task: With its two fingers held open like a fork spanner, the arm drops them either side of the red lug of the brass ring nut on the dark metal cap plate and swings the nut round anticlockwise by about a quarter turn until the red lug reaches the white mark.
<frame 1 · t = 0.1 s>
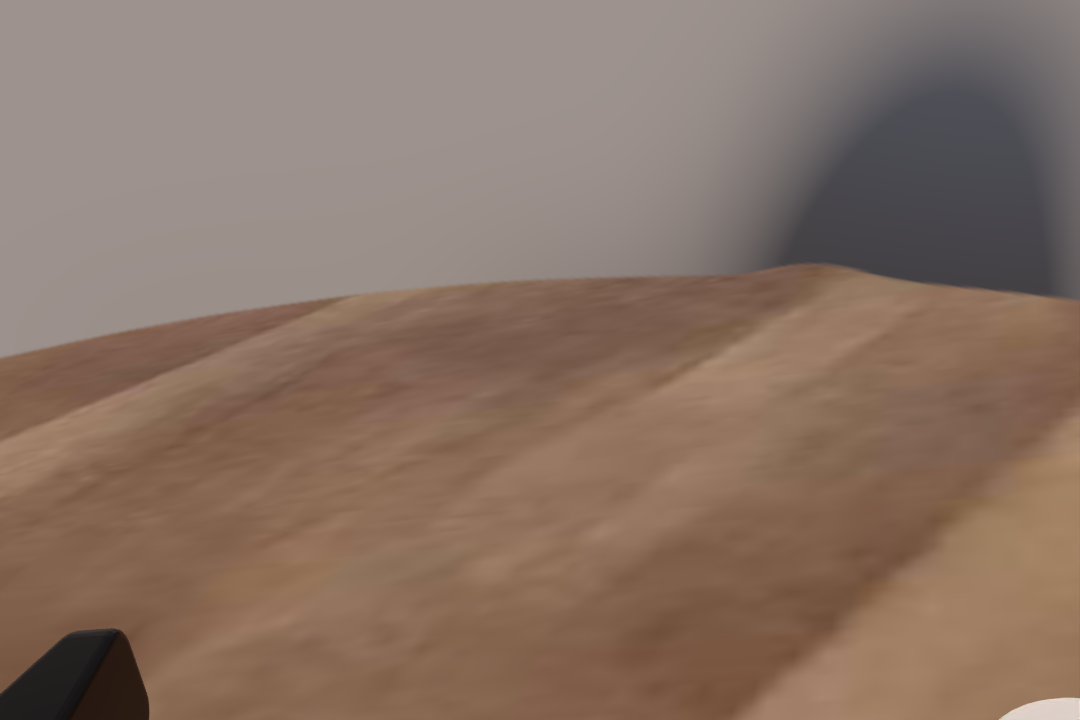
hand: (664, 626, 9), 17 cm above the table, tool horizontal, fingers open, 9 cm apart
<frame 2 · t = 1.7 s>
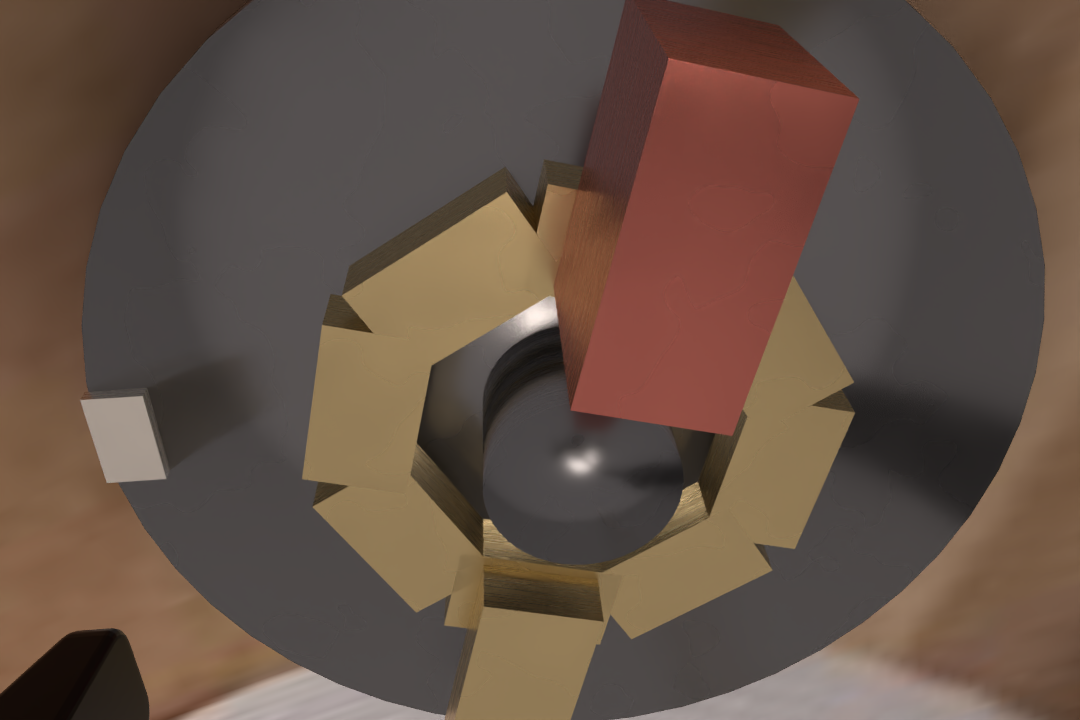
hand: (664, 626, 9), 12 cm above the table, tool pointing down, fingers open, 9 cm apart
cap plate: (567, 372, 22), on the table
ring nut: (586, 481, 18), point 4 cm above the table, hinge at 0.0°
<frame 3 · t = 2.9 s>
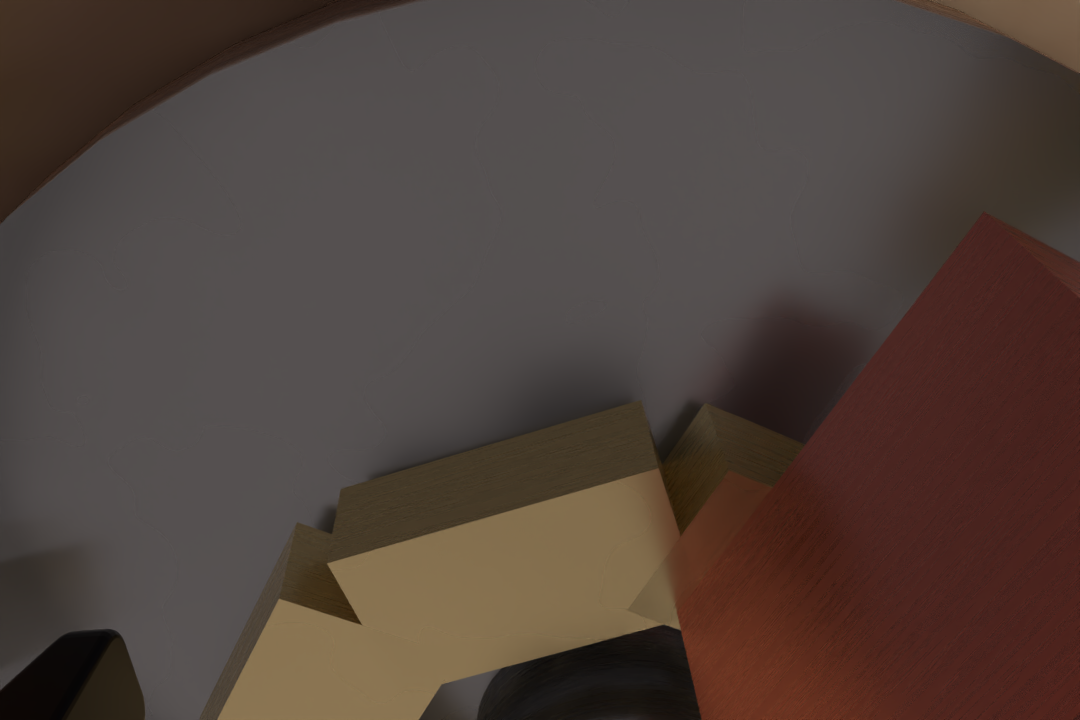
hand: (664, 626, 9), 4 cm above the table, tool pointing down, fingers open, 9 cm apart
cap plate: (602, 652, 15), on the table
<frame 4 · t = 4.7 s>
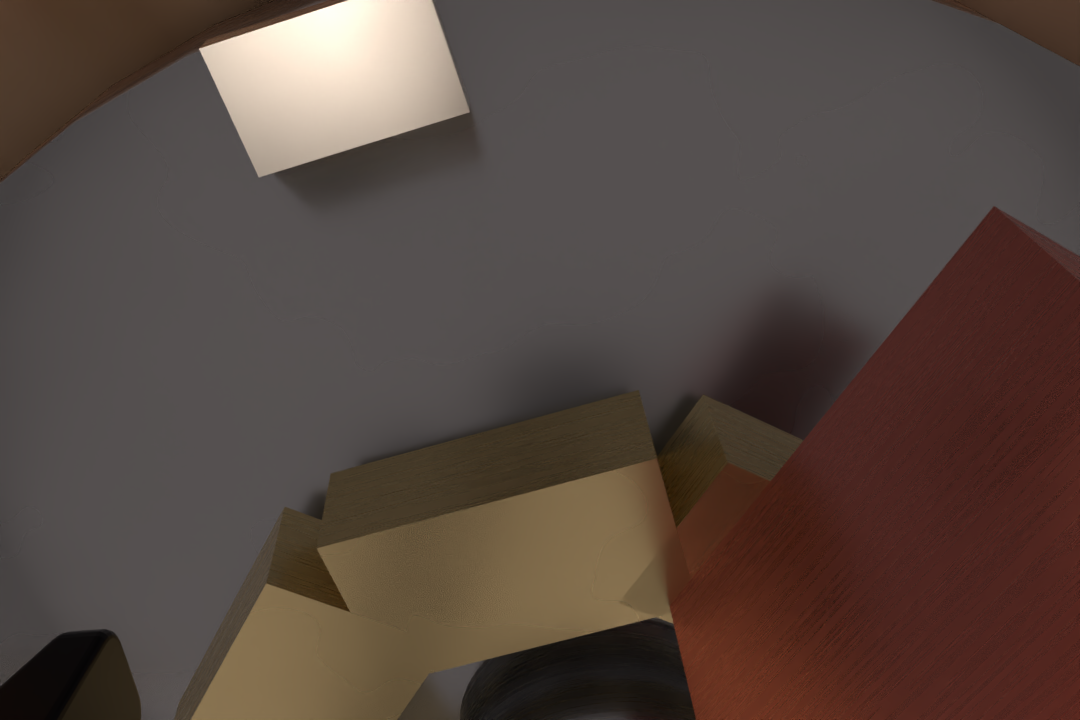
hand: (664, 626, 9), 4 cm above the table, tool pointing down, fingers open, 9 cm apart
cap plate: (587, 646, 15), on the table
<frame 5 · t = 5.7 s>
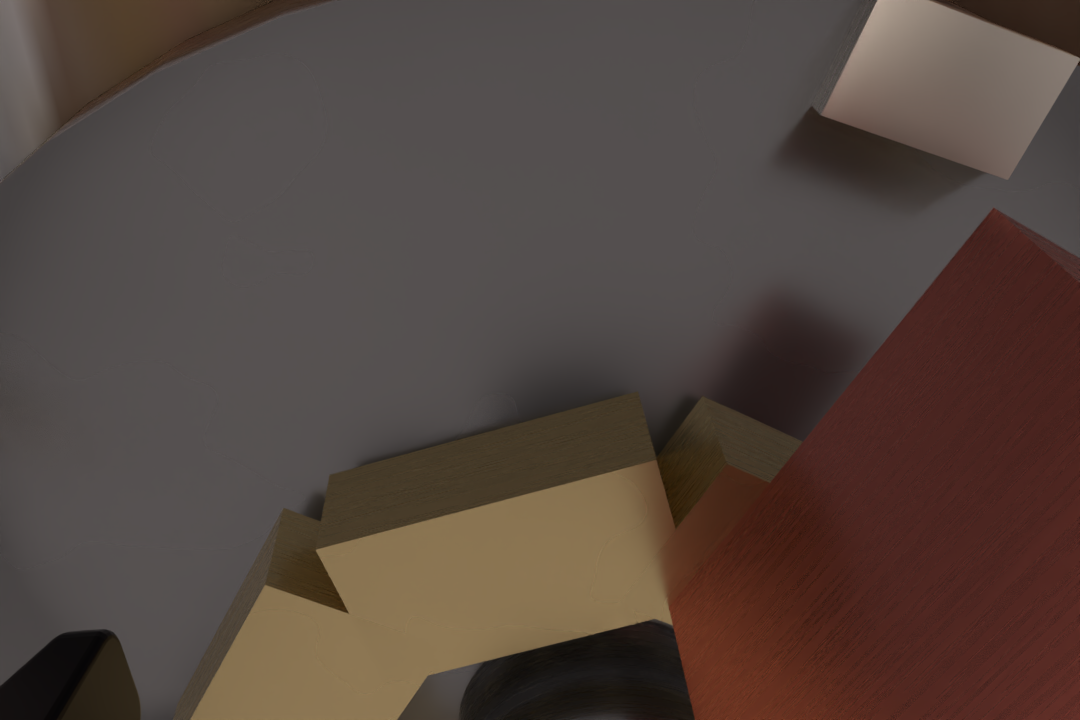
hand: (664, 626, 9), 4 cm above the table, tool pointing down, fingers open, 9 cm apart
cap plate: (586, 647, 15), on the table
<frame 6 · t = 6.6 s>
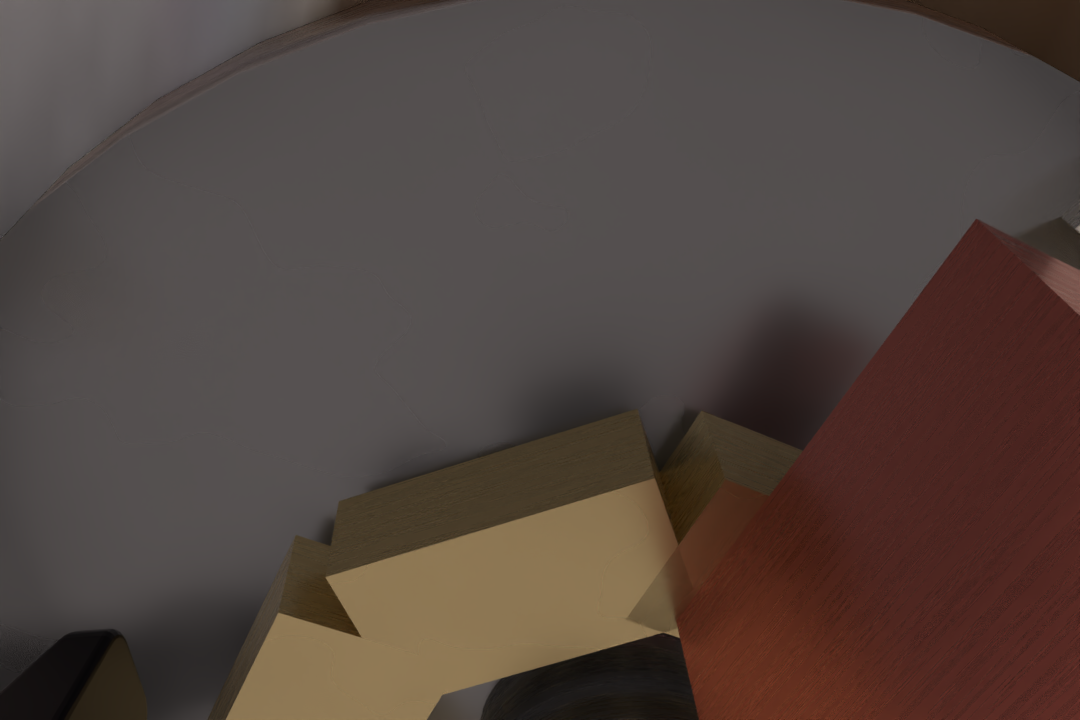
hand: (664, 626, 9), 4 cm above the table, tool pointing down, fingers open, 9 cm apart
cap plate: (604, 657, 15), on the table
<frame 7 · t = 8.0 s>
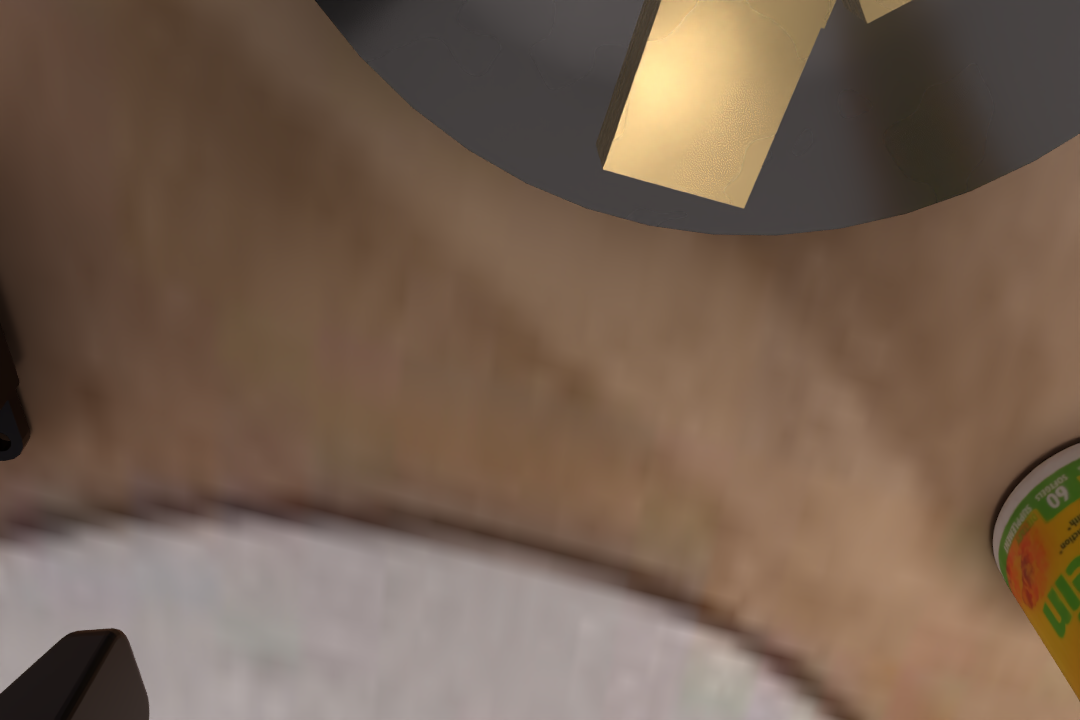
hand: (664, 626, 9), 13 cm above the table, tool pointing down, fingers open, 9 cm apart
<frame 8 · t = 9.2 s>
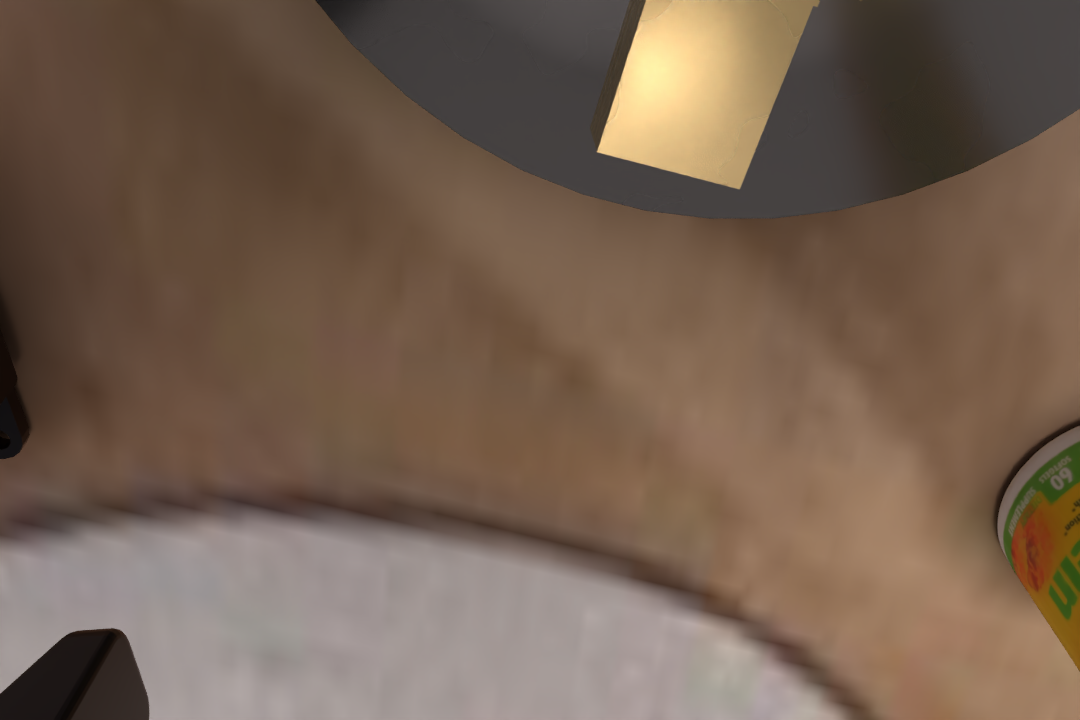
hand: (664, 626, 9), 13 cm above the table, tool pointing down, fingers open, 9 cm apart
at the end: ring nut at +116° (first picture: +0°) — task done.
